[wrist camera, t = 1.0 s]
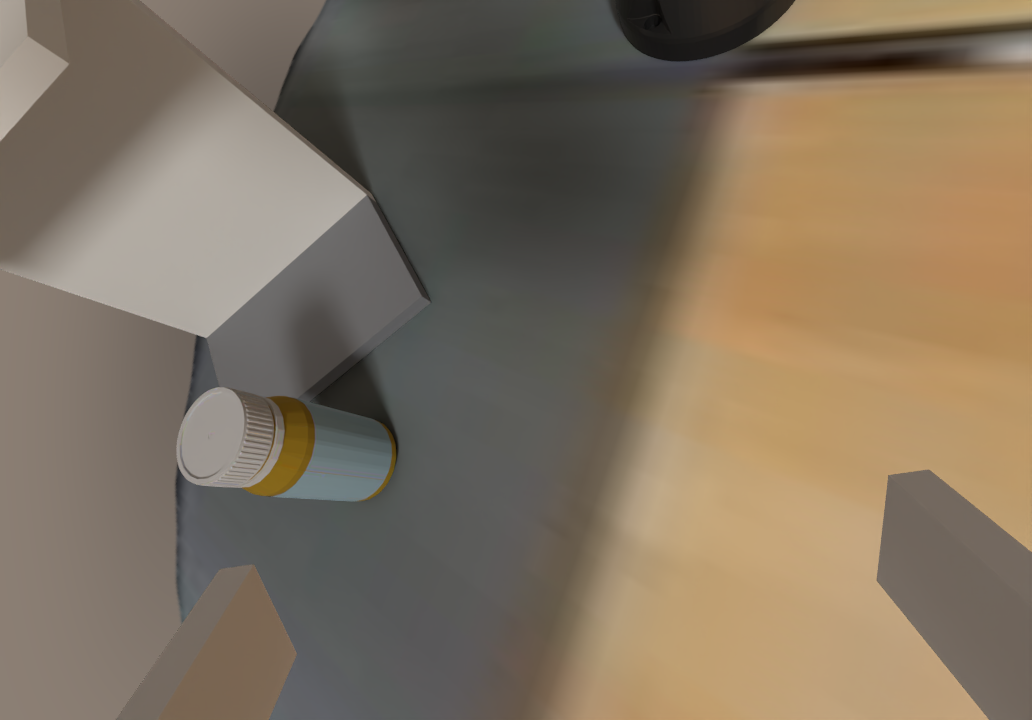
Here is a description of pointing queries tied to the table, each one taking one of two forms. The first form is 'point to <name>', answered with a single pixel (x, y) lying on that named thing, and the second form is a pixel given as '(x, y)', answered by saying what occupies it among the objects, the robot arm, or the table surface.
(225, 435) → the bottle
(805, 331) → the table surface
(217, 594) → the robot arm
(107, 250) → the shelf unit
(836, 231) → the table surface
